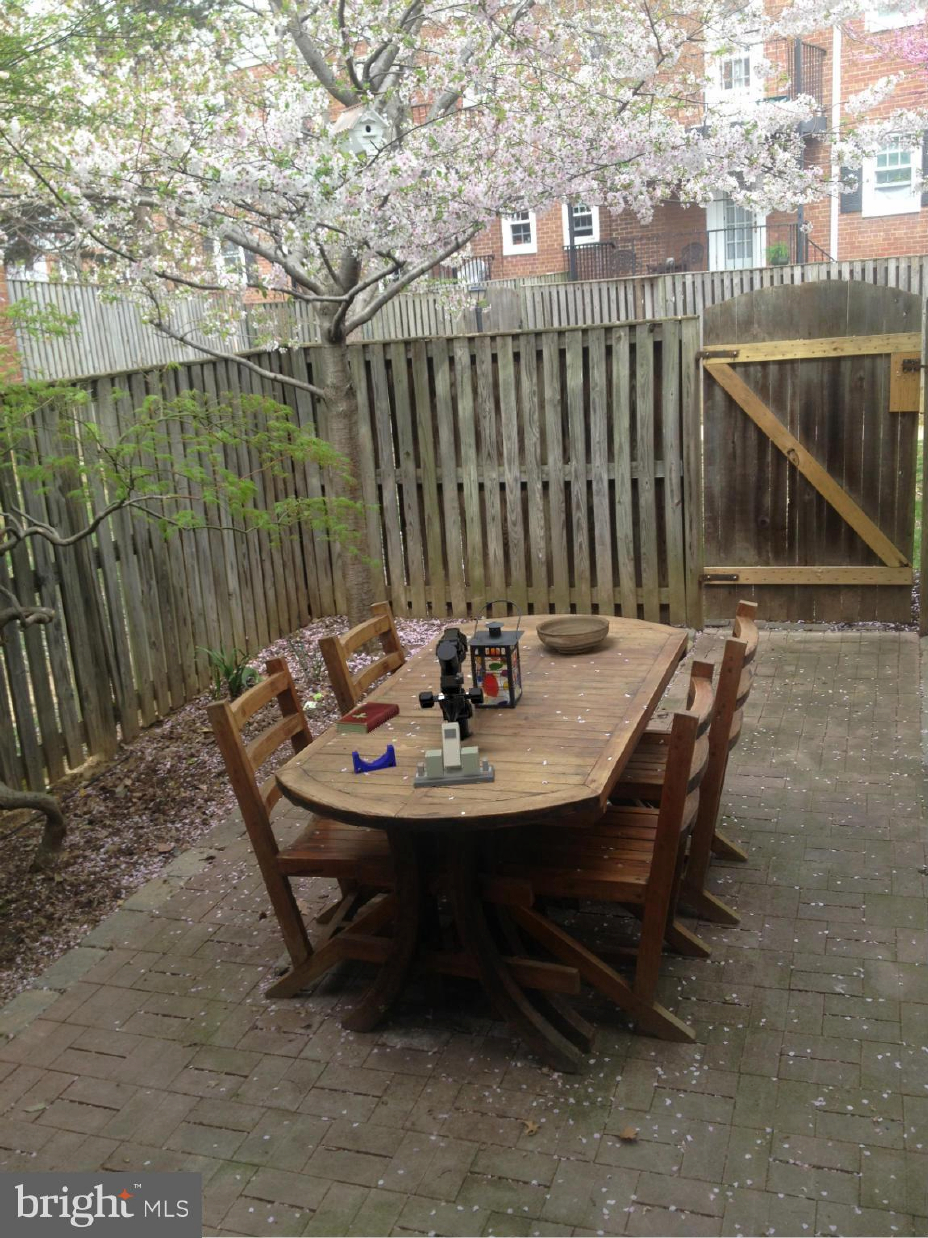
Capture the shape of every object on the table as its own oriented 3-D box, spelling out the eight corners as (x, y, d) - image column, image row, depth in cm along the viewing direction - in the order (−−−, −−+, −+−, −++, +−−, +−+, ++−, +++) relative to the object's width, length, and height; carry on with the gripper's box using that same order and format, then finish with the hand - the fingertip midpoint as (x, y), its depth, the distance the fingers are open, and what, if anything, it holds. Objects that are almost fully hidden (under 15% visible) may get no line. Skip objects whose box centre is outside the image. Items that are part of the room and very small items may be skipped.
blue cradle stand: (393, 761, 317) (390, 742, 315) (396, 766, 312) (394, 747, 311) (353, 769, 314) (350, 750, 312) (356, 774, 309) (353, 755, 308)
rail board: (416, 776, 303) (413, 748, 301) (493, 769, 302) (491, 742, 300) (414, 788, 294) (410, 759, 292) (493, 781, 293) (490, 753, 291)
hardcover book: (400, 714, 361) (398, 702, 360) (367, 736, 343) (365, 723, 342) (370, 712, 366) (368, 700, 365) (336, 733, 348) (334, 721, 347)
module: (446, 768, 299) (443, 726, 303) (462, 767, 299) (459, 725, 303) (444, 765, 294) (441, 723, 298) (460, 764, 294) (457, 721, 298)
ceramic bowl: (564, 635, 442) (562, 611, 439) (627, 638, 426) (626, 614, 424) (519, 659, 412) (517, 634, 409) (586, 664, 396) (584, 638, 394)
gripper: (415, 666, 311) (416, 714, 302) (479, 660, 310) (482, 708, 301) (420, 684, 320) (421, 731, 312) (482, 679, 319) (485, 726, 311)
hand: (452, 723), depth 309 cm, fingers closed
